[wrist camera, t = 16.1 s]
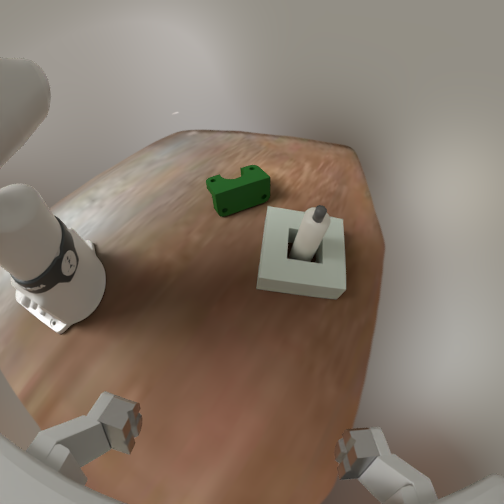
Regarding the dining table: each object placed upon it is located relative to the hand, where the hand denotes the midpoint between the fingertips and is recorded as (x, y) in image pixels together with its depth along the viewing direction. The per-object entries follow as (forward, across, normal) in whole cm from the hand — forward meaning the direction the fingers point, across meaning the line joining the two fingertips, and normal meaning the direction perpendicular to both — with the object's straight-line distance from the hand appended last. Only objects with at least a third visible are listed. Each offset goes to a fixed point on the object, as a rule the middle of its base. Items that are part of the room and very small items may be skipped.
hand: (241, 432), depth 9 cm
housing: (+41, -8, +4) cm, 42 cm away
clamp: (+49, +5, -5) cm, 50 cm away
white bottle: (+41, -8, +4) cm, 42 cm away
